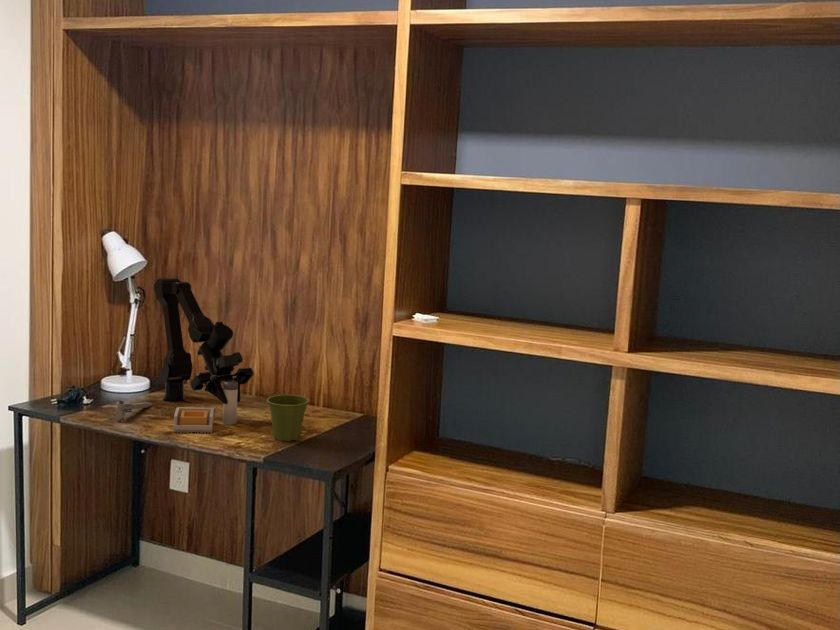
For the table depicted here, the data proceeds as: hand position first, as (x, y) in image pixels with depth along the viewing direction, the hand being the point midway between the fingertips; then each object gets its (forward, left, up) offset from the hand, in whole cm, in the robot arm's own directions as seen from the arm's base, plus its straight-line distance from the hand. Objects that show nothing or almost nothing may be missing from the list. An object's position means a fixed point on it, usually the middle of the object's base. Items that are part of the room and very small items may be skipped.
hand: (232, 402), depth 251 cm
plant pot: (+14, +15, -7) cm, 22 cm away
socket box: (+4, -11, -7) cm, 13 cm away
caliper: (-11, -29, -7) cm, 32 cm away
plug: (-1, -1, -7) cm, 7 cm away
